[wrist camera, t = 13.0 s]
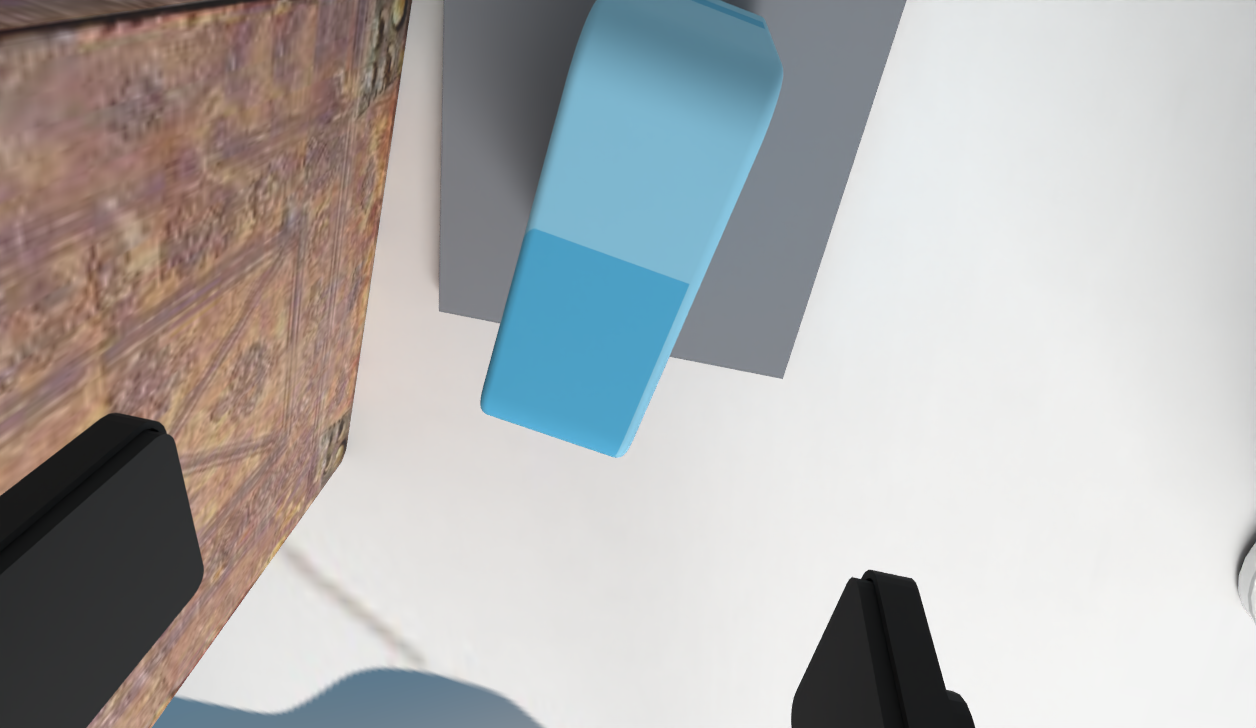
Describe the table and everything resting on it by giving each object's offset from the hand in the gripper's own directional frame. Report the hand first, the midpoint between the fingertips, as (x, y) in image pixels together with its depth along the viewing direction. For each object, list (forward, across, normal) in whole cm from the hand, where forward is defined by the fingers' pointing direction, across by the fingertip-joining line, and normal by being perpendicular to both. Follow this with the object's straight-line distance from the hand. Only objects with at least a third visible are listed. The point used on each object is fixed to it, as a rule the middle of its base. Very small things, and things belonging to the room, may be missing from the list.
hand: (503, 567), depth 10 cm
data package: (+22, 0, 0) cm, 22 cm away
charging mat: (+22, +1, -4) cm, 23 cm away
